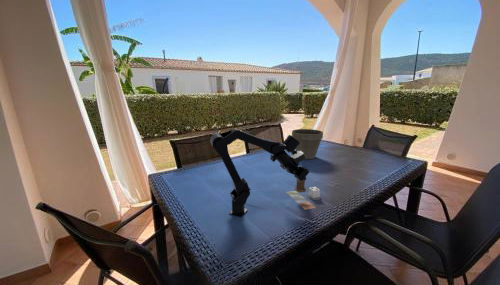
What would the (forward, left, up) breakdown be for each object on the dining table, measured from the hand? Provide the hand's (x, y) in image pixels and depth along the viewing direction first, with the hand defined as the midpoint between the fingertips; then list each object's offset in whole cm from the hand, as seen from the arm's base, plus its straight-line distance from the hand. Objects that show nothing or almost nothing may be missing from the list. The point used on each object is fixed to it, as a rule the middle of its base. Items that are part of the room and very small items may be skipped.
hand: (303, 177), depth 112 cm
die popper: (+5, -5, -12) cm, 14 cm away
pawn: (-1, +1, -6) cm, 7 cm away
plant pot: (+74, +14, -13) cm, 76 cm away
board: (-1, +1, -12) cm, 13 cm away
